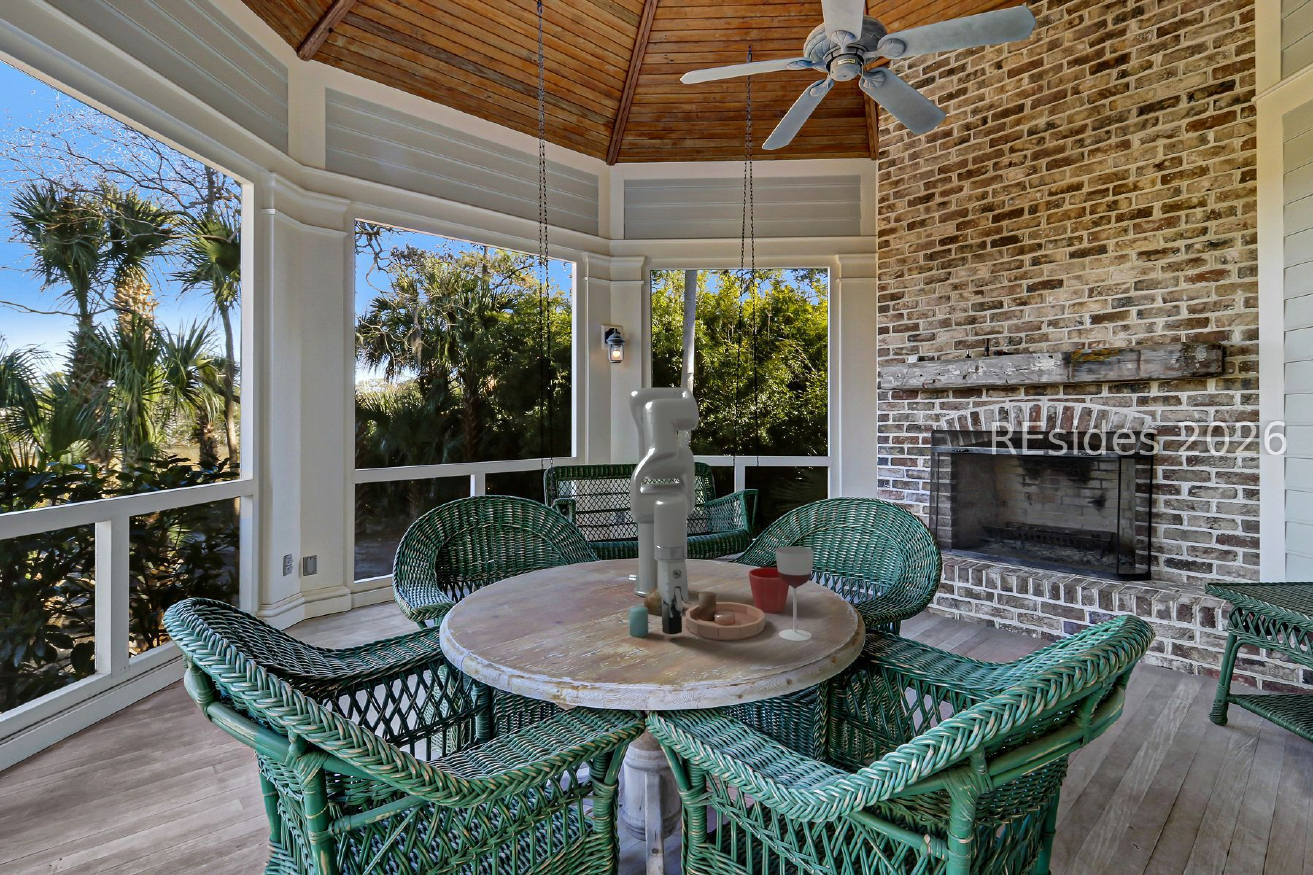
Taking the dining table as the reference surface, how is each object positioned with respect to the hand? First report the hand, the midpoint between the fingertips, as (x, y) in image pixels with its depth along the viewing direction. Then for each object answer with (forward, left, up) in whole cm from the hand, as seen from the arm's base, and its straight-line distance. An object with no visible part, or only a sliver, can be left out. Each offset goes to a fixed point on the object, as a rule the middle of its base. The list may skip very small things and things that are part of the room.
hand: (671, 628), depth 151 cm
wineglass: (+24, +15, -3) cm, 29 cm away
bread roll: (-13, +18, -3) cm, 22 cm away
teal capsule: (-9, -1, -3) cm, 9 cm away
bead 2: (0, 0, -1) cm, 1 cm away
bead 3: (+2, +14, -1) cm, 14 cm away
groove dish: (+7, +13, -2) cm, 15 cm away
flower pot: (+12, +31, -3) cm, 34 cm away
